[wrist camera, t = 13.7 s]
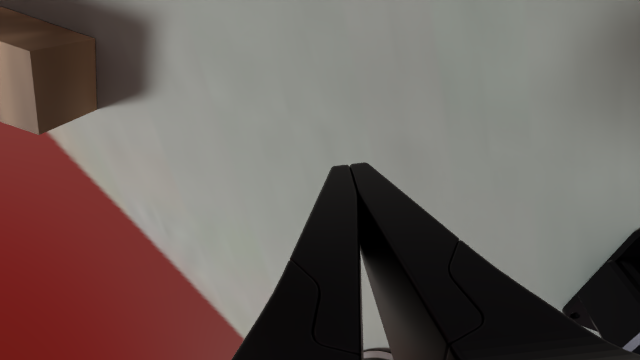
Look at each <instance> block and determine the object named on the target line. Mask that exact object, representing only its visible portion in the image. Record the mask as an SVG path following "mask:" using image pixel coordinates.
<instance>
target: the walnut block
mask: <svg viewBox="0 0 640 360" xmlns="http://www.w3.org/2000/svg"><path fill="white" fill-rule="evenodd" d="M95 110H97V96H96V53H95V38H92V37H89V36H86V35H83V34H80V33H77V32H74V31H71V30H68V29H65V28H62V27H59V26H56V25H54V24H51V23H48V22H45V21H42V20H39V19H36V18H33V17H30V16H27V15H24V14H21V13H18V12H15V11H12V10H9V9H6V8H4V7H1V6H0V122H3V123H6V124H9V125H12V126H15V127H18V128H20V129H24V130H27V131H29V132H32V133H35V134H38V135H40V134H42V133H44V132H47V131H49V130H51V129H54V128H56V127H58V126H60V125H63V124H65V123H67V122H70V121H72V120H74V119H76V118H79V117H81V116H83V115H86V114H88V113H90V112H92V111H95Z"/></svg>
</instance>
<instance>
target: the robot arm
mask: <svg viewBox="0 0 640 360" xmlns="http://www.w3.org/2000/svg"><path fill="white" fill-rule="evenodd" d="M360 251H361V255H362V258H363V262H364V265H365V269H366V272H367V275H368V278H369V282H370V285H371V288H372V291H373V295H374V298H375V301H376V304H377V308H378V311H379V314H380V317H381V321H382V324H383V327H384V330H385V334H386V337H387V340H388V343H389V347H390V350H391V353H392V356H393V360H640V230H639V231H636V232H634V233H633V234H631V236H630V237H629V238H628V239H627V240H626V241H625V242H624V243H623V244H622V245H621V246H620V247H619V248H618V249H617V251H616V252H615V253H614V254H613V255H612V256H611V257H610V258H609V259H608V260H607V261H606V262H605V263H604V265H603V266H602V267H601V268H600V269H599V270H598V271H597V272H596V273H595V274H594V275H593V276H592V277H591V278H590V280H589V281H588V282H587V283H586V284H585V285H584V286H583V287H582V288H581V289H580V290H579V291H578V292H577V294H576V295H575V296H574V297H573V298H572V299H571V300H570V301H569V302H568V303H567V304H566V305H565V306H564V308H563V309H562V312H563V313H562V312H560V311H559V310H557V309H556V308H554V307H553V306H551V305H550V304H548V303H547V302H545V301H544V300H542V299H541V298H539V297H538V296H536V295H535V294H533V293H532V292H530V291H529V290H527V289H526V288H524V287H523V286H521V285H520V284H519V283H517V282H516V281H514V280H513V279H511V278H510V277H509V276H507V275H506V274H504V273H503V272H501V271H500V270H499V269H497V268H496V267H494V266H493V265H492V264H491V263H489V262H488V261H487V260H485V259H484V258H483V257H482V256H480V255H479V254H478V253H476V252H475V251H474V250H473V249H471V248H470V247H469V246H468V245H467V244H465V243H464V242H463V241H461V240H460V241H459V238H458V237H457V236H455V235H454V234H453V233H452V232H451V231H449V230H448V229H447V228H446V227H445V226H443V225H442V224H441V223H440V222H438V221H437V220H436V219H435V218H434V217H432V216H431V215H430V214H429V213H428V212H426V211H425V210H424V209H423V208H421V207H420V206H419V205H418V204H417V203H415V202H414V201H413V200H412V199H411V198H409V197H408V196H407V195H406V194H404V193H403V192H402V191H401V190H400V189H398V188H397V187H396V186H395V185H394V184H392V183H391V182H390V181H389V180H387V179H386V178H385V177H384V176H383V175H381V174H380V173H379V172H378V171H377V170H375V169H374V168H373V167H372V166H370V165H369V164H368V163H357V164H351V165H350V167H349V166H348V165H340V166H333V167H332V168H331V170H330V172H329V174H328V177H327V179H326V181H325V183H324V185H323V187H322V190H321V192H320V194H319V196H318V198H317V200H316V203H315V205H314V207H313V209H312V211H311V214H310V216H309V218H308V220H307V222H306V224H305V227H304V229H303V231H302V233H301V235H300V238H299V240H298V242H297V244H296V246H295V248H294V251H293V253H292V255H291V257H290V261H288V263H287V265H286V268H285V270H284V272H283V274H282V276H281V278H280V280H279V282H278V284H277V286H276V288H275V290H274V292H273V294H272V296H271V297H270V299H269V301H268V302H267V304H266V306H265V307H264V309H263V311H262V312H261V314H260V316H259V317H258V319H257V320H256V322H255V324H254V325H253V327H252V328H251V330H250V331H249V333H248V335H247V336H246V338H245V339H244V341H243V343H242V344H241V346H240V347H239V349H238V350H237V352H236V354H235V355H234V357H233V358H232V360H364V354H363V322H362V289H361V258H360ZM575 312H576V313H575ZM572 313H573V314H572ZM582 326H584V327H586V328H589V329H592V330H595V331H597V332H598V333H599V334H600V336H601V338H600V337H599V336H597V335H595V334H594V333H592V332H590V331H589V330H587V329H586V328H584V327H582Z"/></svg>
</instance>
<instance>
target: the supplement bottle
mask: <svg viewBox="0 0 640 360" xmlns="http://www.w3.org/2000/svg"><path fill="white" fill-rule="evenodd" d="M363 354H364V360H393V356H392V354H391V353H387V352H383V351H367V352H363Z"/></svg>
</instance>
